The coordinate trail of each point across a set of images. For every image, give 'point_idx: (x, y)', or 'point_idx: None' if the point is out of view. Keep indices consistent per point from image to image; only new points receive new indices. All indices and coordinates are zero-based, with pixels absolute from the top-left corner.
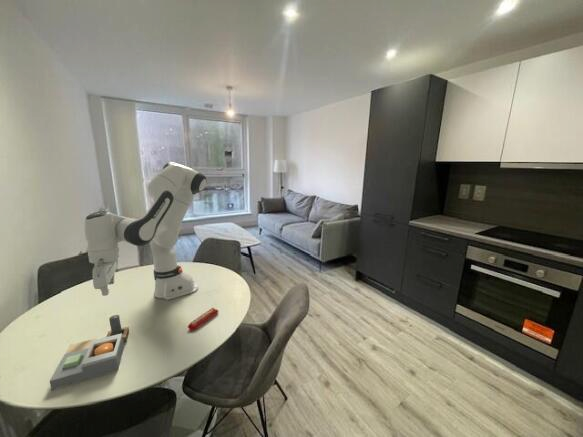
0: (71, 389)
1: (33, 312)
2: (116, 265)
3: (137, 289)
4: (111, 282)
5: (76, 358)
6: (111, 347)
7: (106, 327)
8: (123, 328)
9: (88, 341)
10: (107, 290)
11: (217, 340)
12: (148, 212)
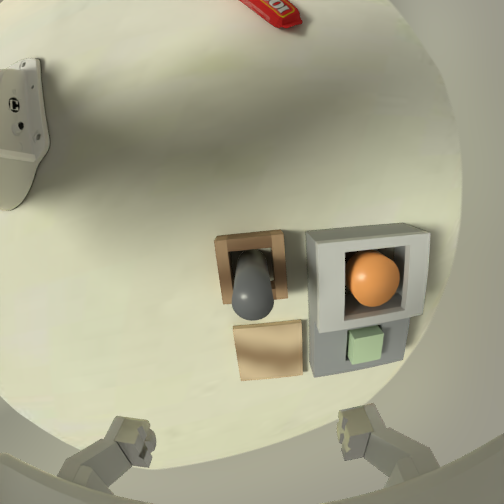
0: None
1: None
2: (7, 489)
3: None
4: (145, 437)
5: (372, 341)
6: (383, 258)
7: (167, 317)
8: (222, 256)
9: (241, 344)
10: (393, 429)
11: None
12: None
